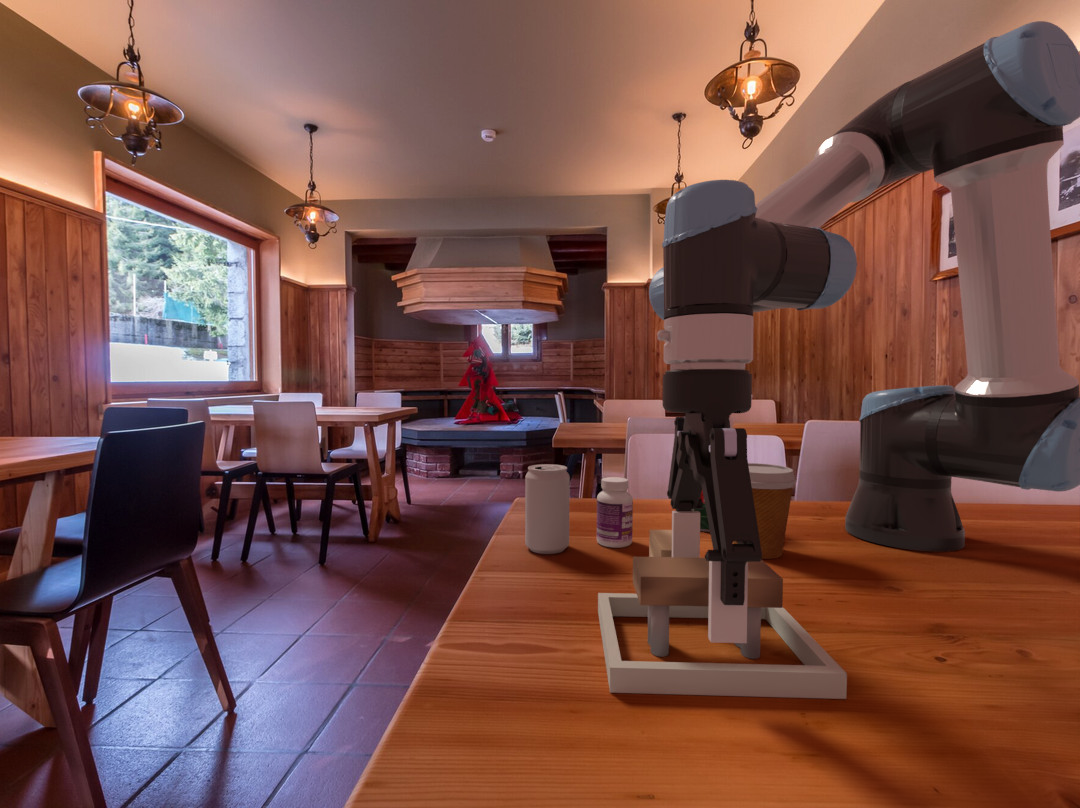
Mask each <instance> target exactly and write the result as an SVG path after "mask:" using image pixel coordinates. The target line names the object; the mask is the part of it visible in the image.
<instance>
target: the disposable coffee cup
mask: <svg viewBox="0 0 1080 808" xmlns="http://www.w3.org/2000/svg"><path fill="white" fill-rule="evenodd" d="M748 466H749V473H750V479H751V486H752V493H753V499H754V506H755V512H756V519H757V526H758V532H759V539H760V545H761V551H762V559H761V560H763V559H764V560H765V559H767V560H769V559H777V558H781V557H782V555H783V549H784V544H785V539H786V531H787V525H788V519H789V513H790V508H791V507H790V505H791V500H792V494H793V490H794V489H793V488H794V487H795V483H796V482H797V480H798V479H797V477H795V474H794V470H793V468H790V467H789V466H783V465H776V464H768V463H756V462H754V463H753V462H748ZM733 544H738V543H737V541H734V542H733Z"/></svg>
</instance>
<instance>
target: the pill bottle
mask: <svg viewBox="0 0 1080 808" xmlns="http://www.w3.org/2000/svg"><path fill="white" fill-rule="evenodd" d="M600 484H601V485H600V486H601V487H600V488H601V489H602V491H600V492H599V493H598V494H597V496H596V542H597V543H598V544H599V545H601V546H602V547H606V548H613V549H617V548H618V549H619V548H620V549H621V548H626V547H629V546H630V545H631V544H632V543H633V525H634V524H633V523H634V522H633V521H634V519H633V518H634V517H633V515H634V511H633V510H634V508H633V504H634V503H633V502H634V500H633V496H632V495H631V493H629V492H628V489H629V479H628V478H624V477H618V476H617V477H616V476H612V477H611V476H610V477H609V476H607V477H604V478H601V483H600Z"/></svg>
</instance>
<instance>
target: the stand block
mask: <svg viewBox="0 0 1080 808" xmlns="http://www.w3.org/2000/svg"><path fill="white" fill-rule="evenodd" d="M648 535H649V536H648V537H649V538H648V542H649V543H648V545H649V546H648V549H649V550H648V553H649V554H648V557H672V529H649V534H648Z"/></svg>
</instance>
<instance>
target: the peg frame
mask: <svg viewBox="0 0 1080 808" xmlns="http://www.w3.org/2000/svg"><path fill="white" fill-rule="evenodd" d="M708 610H709V606H659V605H640V602H639V599H638V596H637V593H629V592H628V593H621V592H620V593H619V592H617V593H615V592H598V593H597V614H598V619H599V620H598V621H599V627H600V635H601V641H602V648H603V652H604V653H603V654H604V655H603V656H604V662H605V667H606V669H605V670H606V674H607V676H606V677H607V681H608V687H609V693H610V694H611V693H614V694H615V693H617V694H647V695H648V694H649V695H650V694H654V695H683V696H684V695H685V696H686V695H688V696H725V697H726V696H728V697H758V698H759V697H761V698H762V697H764V698H765V697H766V698H792V699H793V698H797V699H799V698H800V699H827V700H828V699H831V700H832V699H836V700H847V692H848V691H847V687H848V685H847V684H848V681H847V680H848V674H847V672H846V671H845V670H844V669H843V668H842V667H841V665H840V664H839V663H838V662H836V660H835V659H834V658H833V657H832V656H831V655H830V654H829V652H827V651H826V650H825V648H823V647H822V645H820V644H819V643H818V642H817V641H816V640H815V639H814V637H812V636H811V635H810V634H809V632H808V631H807V630H806V629H805V628H803V625H801V624H800V623H799V622H798V621H797V620H796V619H795V618H794V617H793V616H792V615H791V614H790V613H789V612H788V611H787V610H786V609H785V608H784V607H783V606H782V608H763V607H747V643H734V646H736V647H737V648H739V649H740V654H741V656H743V657H744V658H747V659H751V660H756V659H757V660H758V659H759V658H760V657H761V628H762V627H761V626H762V624H761V622H762V620H765V621H767V623H768V624H769V625H770V626H771V627H772V628H773V630H774V631H775V632H776V633H777V634H778V636H779V637H781V640H783V641H784V643H785V644H786V645H787V646H788V647H789V649H791V651H792V652H793V653H794V655H795V656H796V657H797V658H798V659H799V660H800V662H801V663H802V664H794V665H793V664H770V663H769V664H768V663H767V664H766V663H763V664H762V663H760V664H759V663H727V662H726V663H723V662H722V663H721V662H719V663H718V662H717V663H715V662H683V661H682V662H681V661H680V662H679V661H677V662H676V661H647V660H646V661H640V660H638V661H637V660H622V656H621V652H620V647H619V646H620V645H619V642H618V638H617V631H616V627H615V623H614V619H613V618H614V617H633V618H634V617H635V618H636V617H638V618H641V617H643V618H647V644H648V645H649V646H650V653H651V654H652V655H653V656H656V657H660V658H661V657H667V656H668V655H669V654H670V618H684V619H685V618H686V619H687V618H689V619H708Z"/></svg>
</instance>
